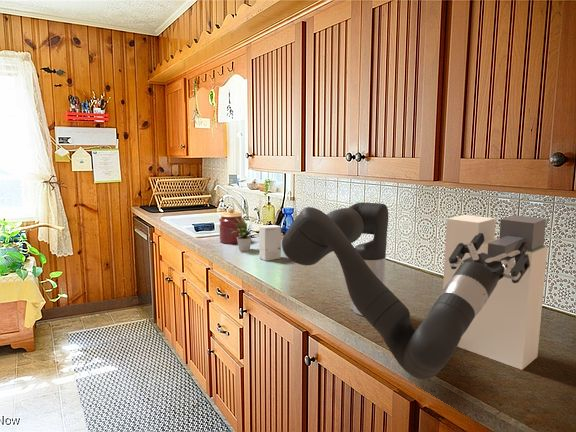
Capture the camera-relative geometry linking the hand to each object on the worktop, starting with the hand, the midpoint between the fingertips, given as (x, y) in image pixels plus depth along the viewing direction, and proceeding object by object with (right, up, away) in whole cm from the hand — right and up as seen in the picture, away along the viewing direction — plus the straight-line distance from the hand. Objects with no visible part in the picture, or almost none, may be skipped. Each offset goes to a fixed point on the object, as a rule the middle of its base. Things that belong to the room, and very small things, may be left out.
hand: (502, 239), depth 92 cm
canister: (-75, -9, +138) cm, 157 cm away
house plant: (-68, -12, +119) cm, 138 cm away
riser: (+4, -28, +16) cm, 33 cm away
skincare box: (-53, -14, +103) cm, 117 cm away
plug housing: (+4, -2, +4) cm, 6 cm away
